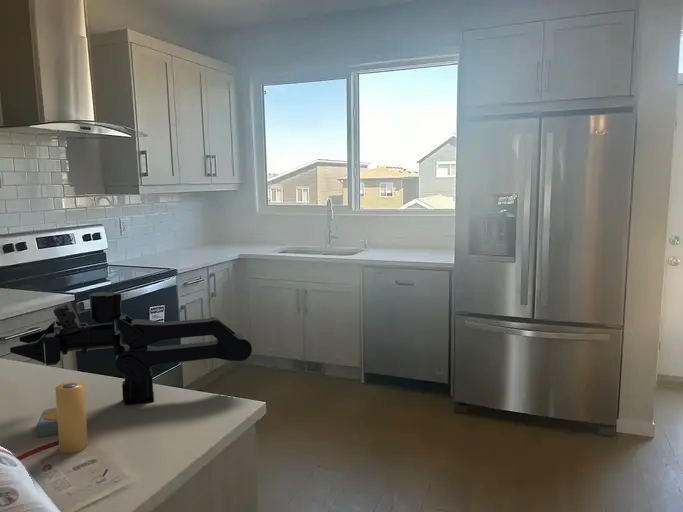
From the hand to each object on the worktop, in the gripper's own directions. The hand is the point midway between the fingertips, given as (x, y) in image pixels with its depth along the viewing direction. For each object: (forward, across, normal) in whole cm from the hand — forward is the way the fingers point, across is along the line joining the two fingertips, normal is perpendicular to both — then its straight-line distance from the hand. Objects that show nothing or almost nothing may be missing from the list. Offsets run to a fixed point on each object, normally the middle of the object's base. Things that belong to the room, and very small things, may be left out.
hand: (15, 344), depth 116 cm
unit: (-10, +11, +16) cm, 22 cm away
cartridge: (-13, +22, +16) cm, 31 cm away
